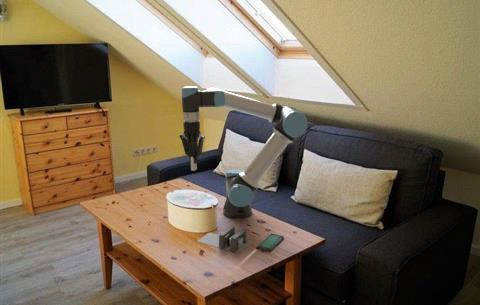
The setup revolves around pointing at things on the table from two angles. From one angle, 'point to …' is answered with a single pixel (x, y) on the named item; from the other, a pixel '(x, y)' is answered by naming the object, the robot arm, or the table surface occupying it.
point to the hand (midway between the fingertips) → (194, 169)
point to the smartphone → (270, 242)
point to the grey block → (228, 241)
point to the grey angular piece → (220, 239)
